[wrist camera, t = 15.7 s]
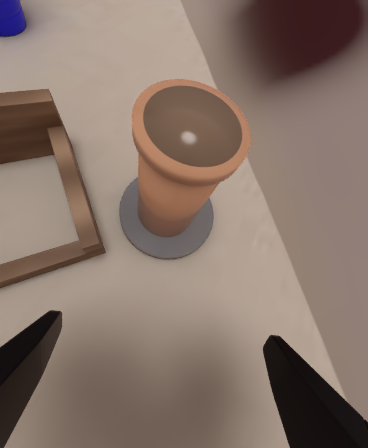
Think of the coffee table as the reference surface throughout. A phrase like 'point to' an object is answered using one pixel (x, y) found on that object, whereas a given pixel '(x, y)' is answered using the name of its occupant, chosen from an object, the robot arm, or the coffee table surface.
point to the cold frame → (73, 184)
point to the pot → (184, 150)
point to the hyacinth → (11, 18)
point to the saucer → (157, 244)
